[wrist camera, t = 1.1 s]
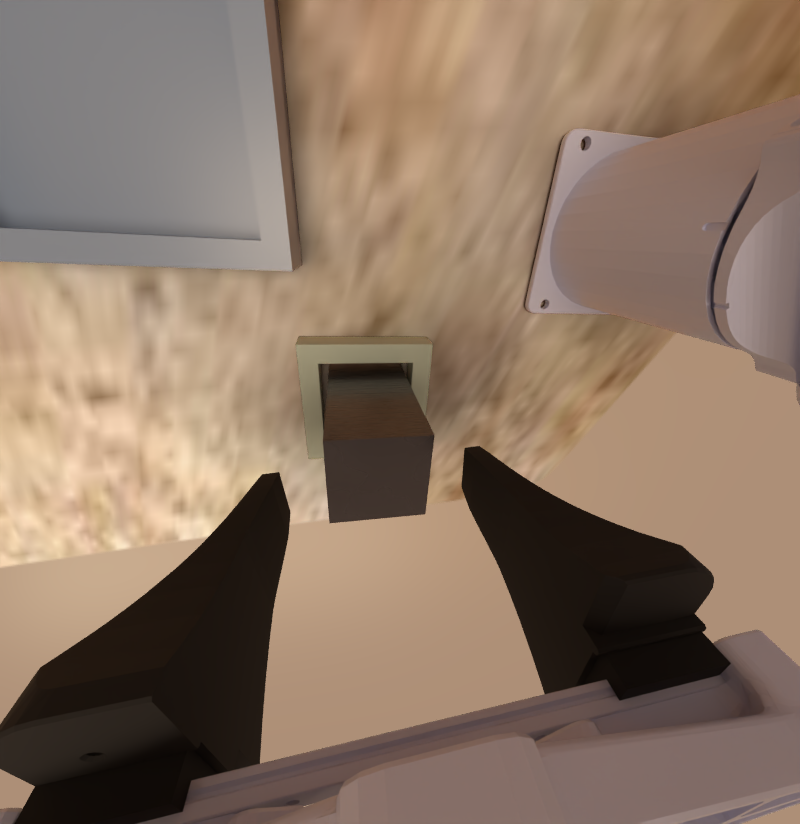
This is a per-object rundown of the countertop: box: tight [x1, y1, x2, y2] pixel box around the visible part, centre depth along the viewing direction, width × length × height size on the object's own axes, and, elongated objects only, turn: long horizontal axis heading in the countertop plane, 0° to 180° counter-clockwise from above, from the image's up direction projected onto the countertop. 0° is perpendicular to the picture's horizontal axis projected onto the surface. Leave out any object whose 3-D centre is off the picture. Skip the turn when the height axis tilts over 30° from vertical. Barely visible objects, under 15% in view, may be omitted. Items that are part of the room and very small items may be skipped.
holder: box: [296, 337, 433, 459], centre depth 18 cm, size 7×7×2 cm
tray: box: [0, 0, 302, 271], centre depth 10 cm, size 12×12×4 cm
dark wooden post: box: [323, 363, 434, 523], centre depth 16 cm, size 4×4×8 cm
